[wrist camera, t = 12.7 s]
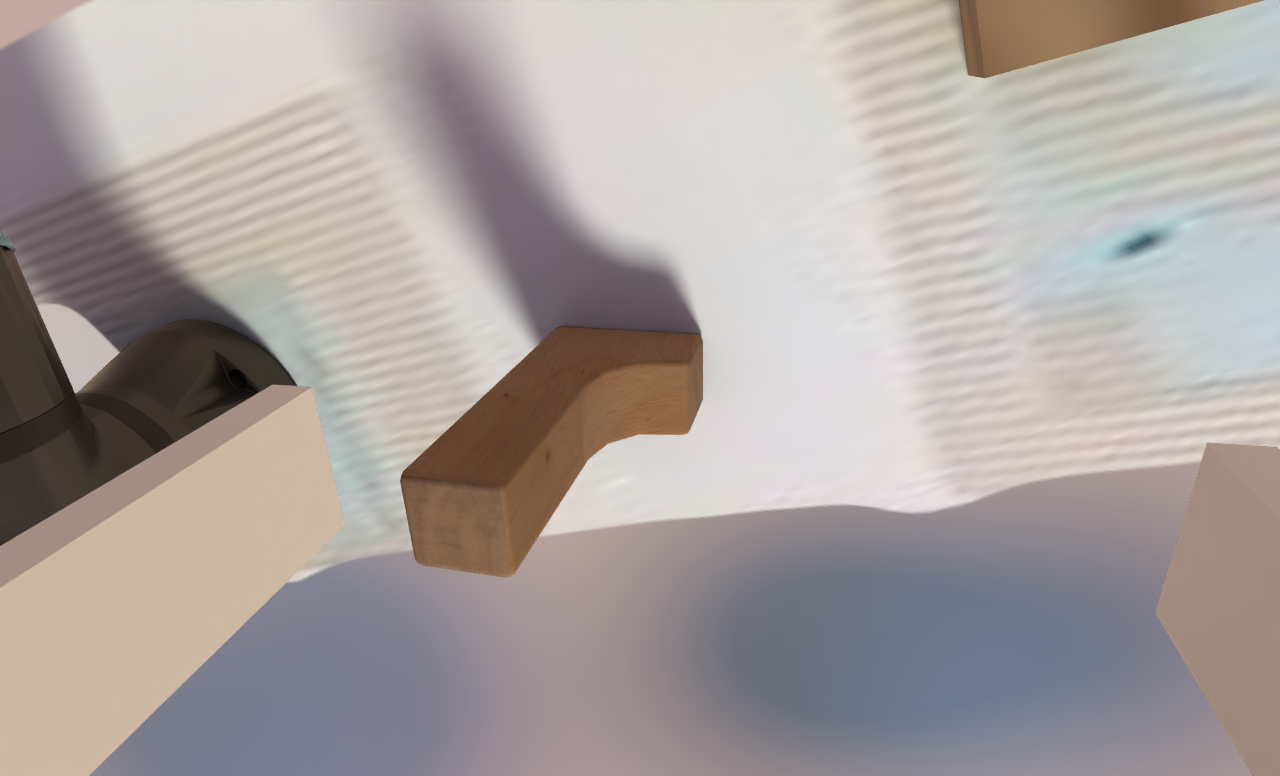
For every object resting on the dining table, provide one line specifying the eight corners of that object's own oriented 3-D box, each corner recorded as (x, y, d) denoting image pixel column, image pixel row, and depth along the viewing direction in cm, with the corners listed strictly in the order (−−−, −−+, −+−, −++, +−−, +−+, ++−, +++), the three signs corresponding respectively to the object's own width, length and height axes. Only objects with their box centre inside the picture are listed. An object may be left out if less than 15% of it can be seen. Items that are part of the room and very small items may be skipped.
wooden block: (704, 332, 42) (616, 499, 26) (703, 403, 44) (622, 599, 28) (556, 324, 45) (394, 473, 29) (562, 392, 46) (412, 568, 30)
